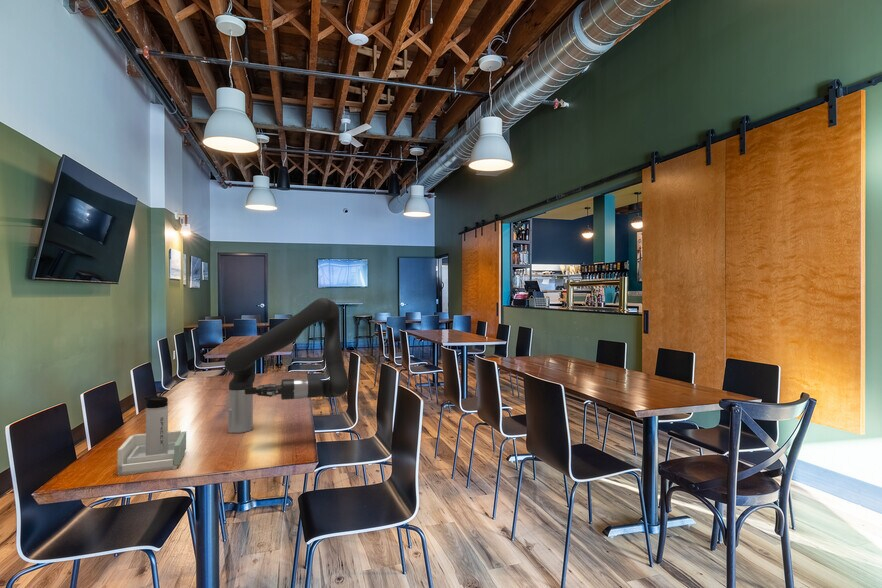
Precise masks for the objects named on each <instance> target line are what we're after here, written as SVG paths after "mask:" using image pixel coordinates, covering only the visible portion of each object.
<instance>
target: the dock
mask: <svg viewBox="0 0 882 588" xmlns="http://www.w3.org/2000/svg"><path fill="white" fill-rule="evenodd" d="M181 432H182V429H181V430H180V429H179V430H172V431H169V430H168V443H172V442H176V441H177V440H178V438H179V436H180V434H181ZM143 445H146V433H137V434H131V435H129V437H128V438H127V439H126V440H125V441H124V442H123V443H122V445H120V447H119V448H118V449H117V470H116V471H117V472H116V473H117V477H119V476H130V475H136V474H137V475H138V474H144V473H153V472H163V471H170V470H176V469H178V467H179V465H174V459H166V460H158V461H149V462H140V463H131V464H127V458H128V457H129V455H130V454H131V453H132V452H133V450H134V449H135V448H136V447H137V446H143Z"/></svg>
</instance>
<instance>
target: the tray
mask: <svg viewBox="0 0 882 588" xmlns="http://www.w3.org/2000/svg"><path fill="white" fill-rule="evenodd" d="M186 450H187V431H181V434H180V436H179V438H178V440H177V441H176V442H172V443H168V454H159V455H149V456H146V445H143V446H137V447H136V448H135V449H134V450H133V452H132V453H131V454H130V455H129V457H128V458H127V464H131V463H140V462H149V461H158V460H166V459H174V465H178V466H179V465H180V463H181V461H182V458H183V457H184V454H185V453H186Z"/></svg>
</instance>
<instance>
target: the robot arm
mask: <svg viewBox="0 0 882 588" xmlns="http://www.w3.org/2000/svg"><path fill="white" fill-rule="evenodd" d="M318 322H322V324H323V327H324V332H325V341H324V348H323V355H324V362H325V368H326V371H327V373H328V376H329V377H328V378H329V379H321V378H284V379H282V380H281V383H280V384H276V383H268V384H267V383H266V384H260V385H257V386H256V387H255V386H254V382H255V380H256V363H257V362H256V361H258V360H259V359H262V358H265V357H266V356H270V355H271V354H273V353H276V352H279V351H281V350H282V349H285V348H286V347H288V346H289V345H291V344H293V343H294V342H295V341H296V340H298V338H300V336H301V334H302V333H303V332H304V331H305V330H306V329H307V328H308V327H310V326H313V325H314V324H316V323H318ZM340 325H341V324H340V308H339V306H338V304H337V303H336V301H335V302H334V300H330V299H328V298H327V297H326V298H325V297H320V298H317V299H315V300H314V301H312V302H311V303H310V304H308V305H307V306H306V307H304V308H303V309H302V310H300V311H299V312H297V313H296V314H294V315H292V316H291V317H289V318H288V319H286V320H284V321H283V322H281V323H279V324H277V325H275V326H274V327H272V328H270V329H269V330H268V331H266V332H265V333H263V334H261V336H259V337H257V338H256V339H255V340H253V341H252V342H250V343H248V344H247V345H244V346H242V347H240V348H238V349H236V350H233V351H232V352H230V353H228V355H227V356H226V358H225V360H224V367H225V369H226V370H227V371H228V372H229V373H231V374H232V373H233V377H232V379H231V380H230V382H229V383H228V409H227V410H228V416H227V417H228V428H227V431H228V433H229V434H231V433H232V434H241V433H246V432H250V431H252V430H253V429H254V395H256V396H259V397H268V398H272V397H277V396H278V395H280V399H281V400H282V401H284V400H285V401H286V400H300V399H301V400H302V399H308V398H309V399H310V398H321V397H322V398H340V397H342V396H344V395H345V394H346V393H347V392H348V391H349V389H350V382H349V377H348V373H347V371H346V368H345V362H344V355H343V351H342V344H341V343H342V342H341V332H340V331H341V330H340V329H341V328H340Z"/></svg>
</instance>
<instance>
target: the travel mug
mask: <svg viewBox="0 0 882 588" xmlns="http://www.w3.org/2000/svg"><path fill="white" fill-rule="evenodd" d="M144 400H145V434H146V456H149V455H159V454H168V432H169V408H168V407H169V405H168V404H169V403H168V402H169V401H168V400H169V399H168V397H166V396H157V395H155V396H149V395H148V396H145V397H144Z"/></svg>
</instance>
